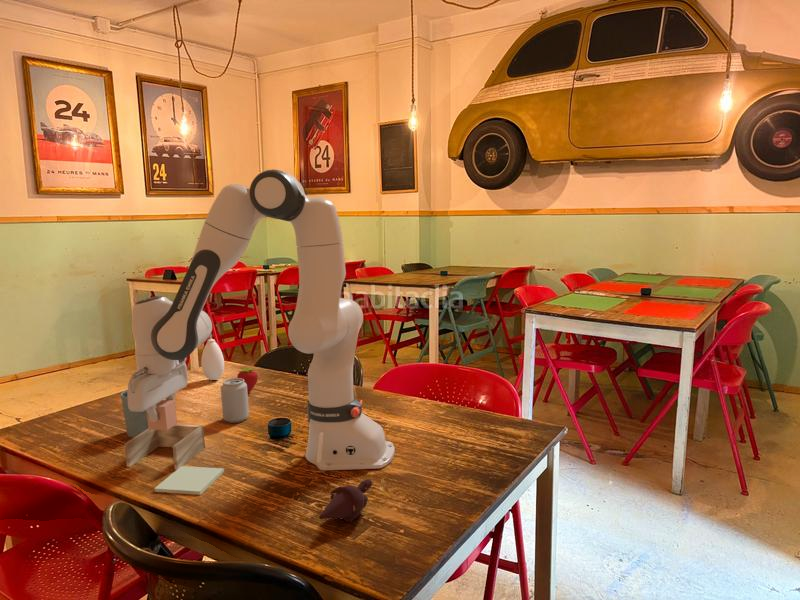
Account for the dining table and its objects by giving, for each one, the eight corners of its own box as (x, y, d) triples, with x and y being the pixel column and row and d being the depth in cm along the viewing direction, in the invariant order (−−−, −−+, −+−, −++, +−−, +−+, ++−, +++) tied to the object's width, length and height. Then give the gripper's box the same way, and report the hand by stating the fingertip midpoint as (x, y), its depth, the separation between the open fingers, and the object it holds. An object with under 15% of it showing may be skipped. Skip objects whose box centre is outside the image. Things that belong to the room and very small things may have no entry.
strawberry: (250, 396, 187) (248, 367, 185) (234, 393, 190) (232, 365, 189) (263, 391, 192) (261, 363, 191) (246, 388, 196) (244, 360, 194)
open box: (205, 447, 147) (203, 425, 146) (177, 469, 135) (175, 446, 134) (157, 444, 149) (155, 423, 149) (126, 466, 137) (124, 443, 136)
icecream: (337, 511, 102) (386, 484, 115) (309, 491, 106) (359, 467, 119) (330, 543, 104) (378, 513, 116) (302, 522, 108) (352, 495, 120)
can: (252, 414, 170) (250, 376, 168) (243, 424, 163) (240, 384, 161) (229, 414, 171) (226, 376, 169) (219, 423, 164) (215, 384, 162)
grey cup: (121, 431, 159) (116, 391, 158) (157, 422, 166) (153, 383, 164) (130, 442, 152) (126, 399, 150) (169, 432, 158) (165, 391, 156)
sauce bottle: (220, 375, 212) (216, 329, 209) (228, 380, 206) (225, 332, 203) (199, 380, 207) (195, 332, 204) (207, 384, 201) (203, 336, 198)
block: (177, 423, 141) (174, 400, 140) (167, 430, 137) (164, 406, 136) (159, 422, 142) (156, 400, 141) (148, 429, 138) (146, 406, 137)
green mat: (224, 471, 133) (223, 468, 133) (200, 494, 122) (200, 491, 122) (181, 469, 135) (181, 466, 135) (154, 491, 124) (154, 488, 124)
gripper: (141, 374, 126) (148, 432, 128) (189, 352, 146) (194, 402, 148) (116, 374, 127) (123, 432, 129) (167, 352, 147) (173, 402, 149)
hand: (162, 416), depth 139 cm, fingers closed on block, 4 cm apart
